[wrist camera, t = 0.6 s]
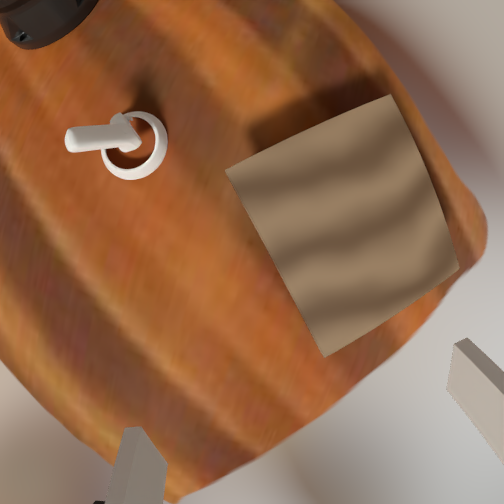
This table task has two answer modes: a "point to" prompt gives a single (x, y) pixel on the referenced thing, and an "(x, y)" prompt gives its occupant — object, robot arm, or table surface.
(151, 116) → the white ring with handle
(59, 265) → the table surface
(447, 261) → the small wooden table
